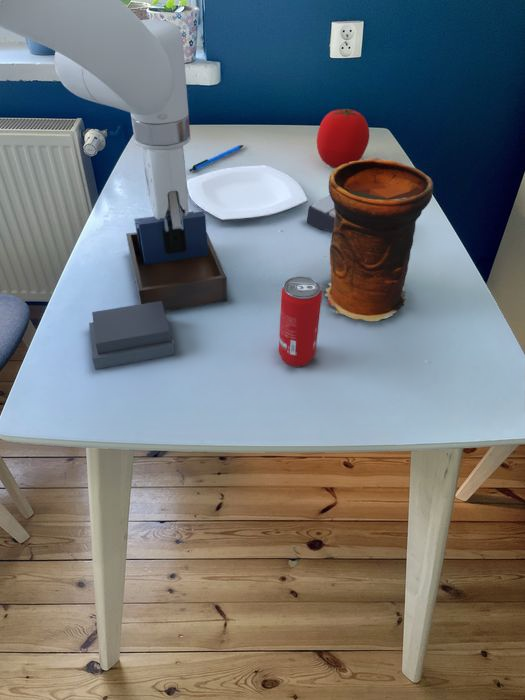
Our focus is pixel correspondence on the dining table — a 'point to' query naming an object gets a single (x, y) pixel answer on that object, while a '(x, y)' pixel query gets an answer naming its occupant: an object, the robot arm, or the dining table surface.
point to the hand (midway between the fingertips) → (174, 247)
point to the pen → (215, 158)
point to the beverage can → (299, 320)
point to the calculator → (322, 214)
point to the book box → (179, 279)
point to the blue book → (155, 240)
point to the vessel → (373, 235)
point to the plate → (245, 192)
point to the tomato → (342, 137)
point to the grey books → (130, 335)
